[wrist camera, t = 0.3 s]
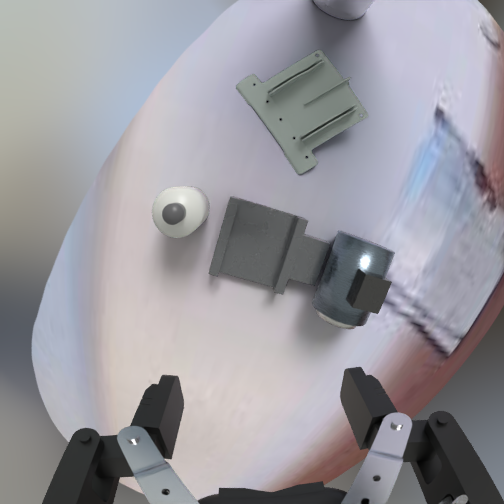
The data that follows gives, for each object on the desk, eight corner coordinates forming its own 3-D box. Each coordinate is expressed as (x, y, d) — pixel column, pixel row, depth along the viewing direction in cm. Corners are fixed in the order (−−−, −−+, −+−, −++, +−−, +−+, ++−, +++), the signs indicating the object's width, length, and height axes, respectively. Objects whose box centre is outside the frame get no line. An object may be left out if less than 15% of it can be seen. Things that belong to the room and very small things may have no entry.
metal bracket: (315, 31, 26) (385, 125, 29) (316, 44, 31) (376, 127, 34) (224, 88, 32) (291, 181, 35) (236, 95, 37) (294, 176, 40)
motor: (231, 195, 36) (225, 199, 26) (378, 244, 38) (415, 262, 28) (209, 273, 39) (197, 303, 29) (351, 311, 41) (378, 345, 31)
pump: (174, 181, 36) (154, 181, 27) (214, 192, 36) (205, 194, 28) (164, 222, 37) (141, 232, 28) (203, 233, 37) (191, 247, 29)
